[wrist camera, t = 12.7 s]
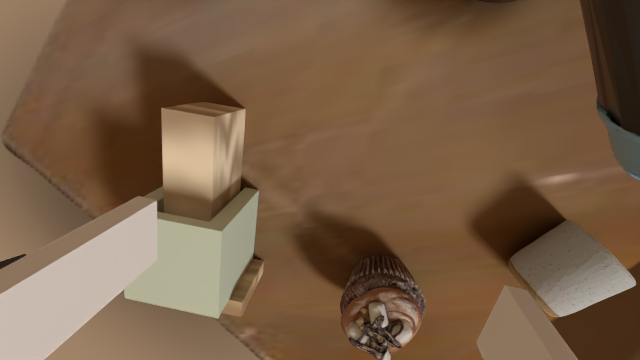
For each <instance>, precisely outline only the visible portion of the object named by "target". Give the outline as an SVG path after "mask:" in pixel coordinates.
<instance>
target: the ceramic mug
mask: <svg viewBox="0 0 640 360" xmlns="http://www.w3.org/2000/svg"><path fill="white" fill-rule="evenodd" d="M508 267H509V269H510V271H511V272H512V274H513V275H514V276H515V278H516V279H517V280H518V282H519V283H520V284H521V285H522V287H523V288H524V289H525V290H527V291H528V292H529V294H530V295H531V296H532V298H533V299H534V300H535V302H536V303H537V304H538V305H539V306H540V307H541V308H542V309H543V310H544V311H545V312H546V313H547V314H548V315H550V316H553V317H561V316H565V315H569V314H571V313H575V312H577V311H579V310H581V309H583V308H585V307H588V306H590V305H592V304H594V303H596V302H599V301H601V300H603V299H606V298H608V297H610V296H613V295H615V294H617V293H620V292H622V291H625V290H627V289H629V288H631V287H633V286H635V285H636V281H635V279H634V278H633V277H632V275H631V274H630V273H629V272H628V271H627V269H626V268H625V267H624V266H623V265H622V264H621V263H620V262H619V261H618V260H617V259H616V258H615V257H614V256H613V255H612V254H611V253H610V252H609V251H608V250H607V249H606V248H605V247H604V246H602V245H601V244H600V243H599V242H598V241H597V240H596V239H595V238H594V237H592V236H591V235H590V234H589V233H588V232H586V231H585V230H584V229H583V228H581V227H580V226H579V225H577V224H576V223H574V222H573V221H571V220H566V221H564V222H563V223H561V224H560V225H558V226H557V227H555V228H554V229H552V230H550V231H549V232H547V233H546V234H544V235H543V236H541V237H540V238H538V239H537V240H535V241H534V242H532V243H531V244H529V245H528V246H526V247H524V248H522V249H521V250H520V251H518V252H517V253H515V254H514V255H513V256H512V257H511V258H510V260H509V261H508Z"/></svg>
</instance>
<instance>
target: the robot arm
mask: <svg viewBox="0 0 640 360" xmlns="http://www.w3.org/2000/svg"><path fill="white" fill-rule="evenodd" d="M479 1H484V2H493V3H500V2H510V1H515V0H479ZM580 4H581V9H582V14H583V19H584V24H585V29H586V33H587V38H588V43H589V48H590V53H591V59H592V64H593V70H594V76H595V81H596V87H597V93H598V96H597V102H596V104H597V112H598V114H599V116H600V118H601V119H602V121H603V122H604V123H605V125H606V128H607V131H608V135H609V139H610V143H611V147H612V150H613V153H614V156H615V158H616V160H617V162H618V163H619V164H620V166H621V167H622V168H623V169H624V170H625V171H626V172H627V173H628V174H629V175H631V176H632V177H634V178H636V179H638V180H640V0H580ZM156 260H157V200H154V199H149V198H145V197H141V196H137V197H135V198H133V199H132V200H130V201H128V202H126V203H124V204H122V205H120V206H118V207H117V208H115V209H113V210H111V211H109V212H107V213H105V214H103V215H102V216H100V217H98V218H96V219H94V220H92V221H90V222H88V223H86V224H85V225H83V226H81V227H79V228H77V229H75V230H73V231H72V232H70V233H68V234H66V235H64V236H62V237H60V238H58V239H56V240H55V241H53V242H51V243H49V244H47V245H45V246H43V247H41V248H39V249H38V250H36V251H34V252H32V253H30V254H28V255H26V254H23V255H20V256H17V257H14V258H11V259H7V260H5V261H1V262H0V360H44V359H45V358H46V357H48V356H49V355H50V354H51V353H52V352H53V351H54V350H56V349H57V348H58V347H59V346H60V345H61V344H62V343H63V342H64V341H66V340H67V339H68V338H69V337H70V336H71V335H73V333H75V332H76V331H77V330H78V329H79V328H80V327H82V326H83V325H84V324H85V323H86V322H87V321H88V320H89V319H91V318H92V317H93V316H94V315H95V314H96V313H97V312H99V311H100V310H101V309H102V308H103V307H104V306H105V305H106V304H108V303H109V302H110V301H111V300H112V299H113V298H114V297H116V296H117V295H118V294H119V293H120V292H121V291H122V290H124V289H125V288H126V287H127V286H128V285H129V284H130V283H131V282H133V281H134V280H135V279H136V278H137V277H138V276H139V275H141V274H142V273H143V272H144V271H145V270H146V269H147V268H148V267H150V266H151V265H152V264H153V263H154V262H155V261H156ZM476 343H477V345H478V348H479V350H480V353H481V355H482V358H483V360H578V359H577V358H576V356H575V355H574V353H573V352H572V351H571V349H570V348H569V347H568V345H567V344H566V343H565V341H564V340H563V339H562V337H561V336H560V334H559V333H558V332H557V330H556V329H555V328H554V326H553V325H552V323H551V322H550V321H549V319H548V318H547V317H546V315H545V314H544V313H543V311H542V310H541V309H540V307H539V306H538V304H537V303H536V302H535V300H534V299H533V298H532V296H531V295H530V294H529V292H528V291H527V290H523V289H519V288H515V287H511V286H507V285H505V286H504V288H503V290H502V292H501V294H500V296H499V298H498V300H497V302H496V304H495V306H494V308H493V310H492V312H491V314H490V316H489V318H488V320H487V322H486V324H485V326H484V328H483V330H482V332H481V334H480V336H479V338H478V340H477V342H476Z"/></svg>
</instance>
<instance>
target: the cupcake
mask: <svg viewBox="0 0 640 360" xmlns="http://www.w3.org/2000/svg"><path fill="white" fill-rule="evenodd" d="M423 296H424V295H423V293H422V291H421V290H420V288H419V287H418V285H417V284H416V282H415V281H414V279H413V277H412V276H411V274H410V272H409V270H408V269H407V268H406V266H405V265H404V264H403V263H402V262H401V261H399V260H398V259H396V258H392V257H390V256H387V255H373V256H371V257H366V258H365V259H363V260H360V261H359V263H358V265H357V266H355V268H354V269H353V271H352V274H351V276H350V279H349V282H348V284H347V286H346V288H345V290H344V292H343V295H342V299H341V302H340V308H341V314H342V316H341V325H342V328H343V331H344V332H345V334H346V335H347V337H348V338H349V340H350V342H351V343H352V344H353V345H354V346H355V347H357V348H359V349H360V350H362V351H364V352H366V353H369V354H371V355H373V356H374V357H375V358H376V360H390V358H391V357H390V353H394V352H396V351H398V350H400V349H402V348H403V347H404V346H405V345H406V344H407V343H408V342H409V341H410V340H411V339H412V338H413V337H414V335H415V334H416V333H417V331H418V329H419V326H420V324H421V320H423V317H422V315H423V316H424V315H425V314H424V313H423V312H425V309H424V307H426V306H425V304H424V302H425V299H424V297H423Z"/></svg>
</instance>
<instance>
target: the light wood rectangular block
mask: <svg viewBox="0 0 640 360" xmlns="http://www.w3.org/2000/svg"><path fill="white" fill-rule="evenodd" d="M245 112H246V109H244V108H238V107H232V106H226V105H220V104H215V103H209V102H197V103H191V104H184V105H177V106H171V107H164V108H161V117H162V157H163V196H164V213H167V214H172V215H177V216H182V217H187V218H192V219H197V220H202V221H207V222H210V221H211V220H212V219H213V218H214V217H215V216H216V215H217V214H218V213H219V212H220V211H221V210H222V209H223V208H224V207H225V206H226V205H228V204H229V203H230V202H231V201H232V200H233V199H234V198H235V197H236V196H237V195H238V194H239V193H240V187H241V172H242V157H243V142H244V127H245Z"/></svg>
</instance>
